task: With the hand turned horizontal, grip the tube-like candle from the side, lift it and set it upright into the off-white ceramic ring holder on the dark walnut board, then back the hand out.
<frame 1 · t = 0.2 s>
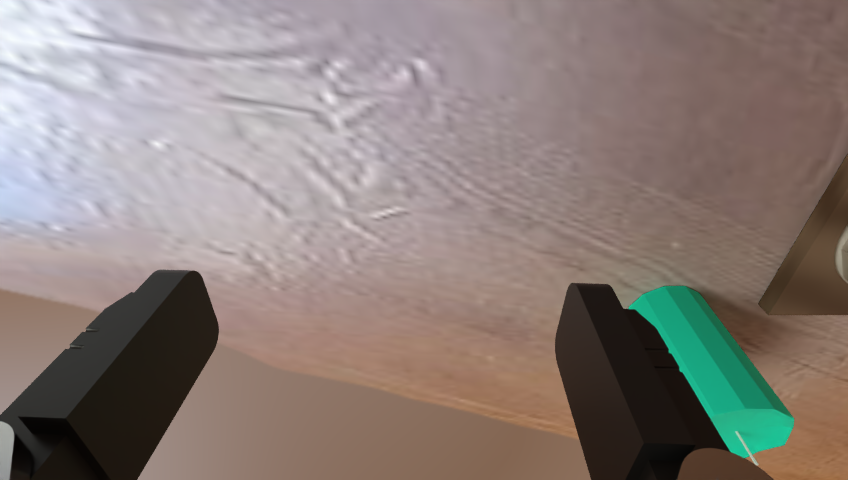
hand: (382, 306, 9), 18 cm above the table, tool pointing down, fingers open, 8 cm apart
candle: (662, 311, 34), on the table
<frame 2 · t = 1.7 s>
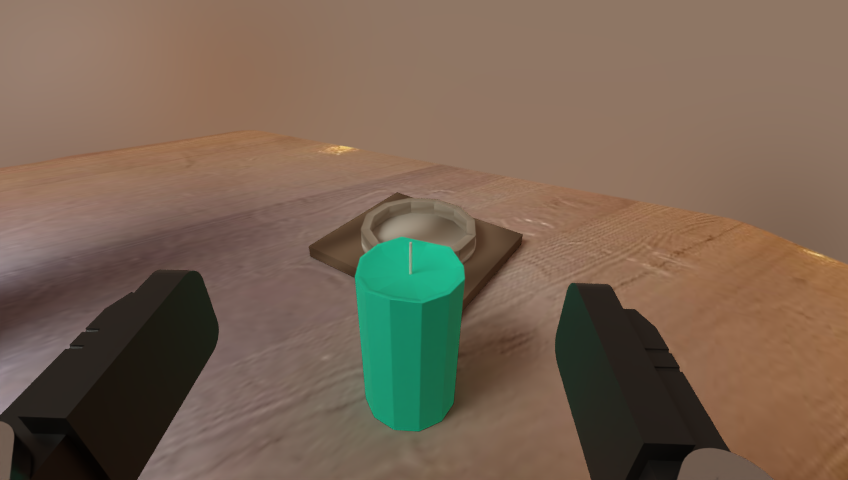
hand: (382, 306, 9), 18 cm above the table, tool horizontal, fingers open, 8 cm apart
holder: (418, 250, 42), on the table
candle: (410, 392, 29), on the table
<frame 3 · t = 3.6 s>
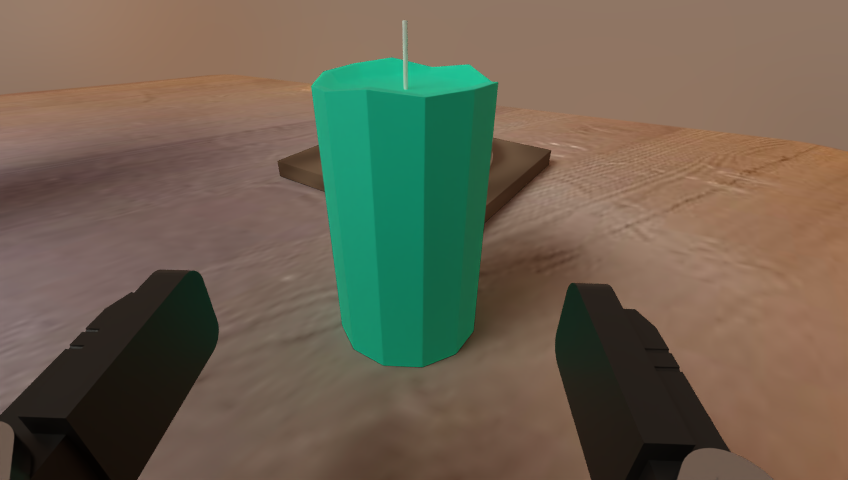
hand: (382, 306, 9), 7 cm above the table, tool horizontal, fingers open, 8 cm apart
holder: (419, 169, 33), on the table
candle: (408, 319, 19), on the table
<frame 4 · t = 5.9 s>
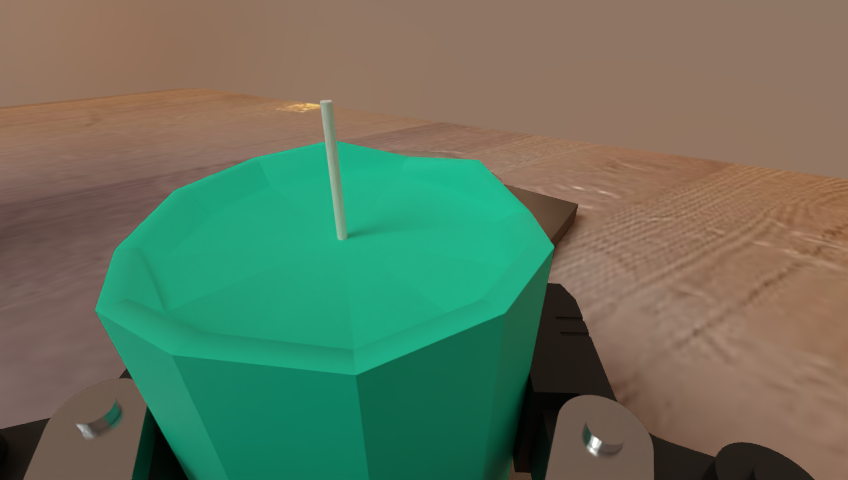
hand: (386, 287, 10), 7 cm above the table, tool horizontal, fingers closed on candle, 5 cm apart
holder: (408, 230, 26), on the table
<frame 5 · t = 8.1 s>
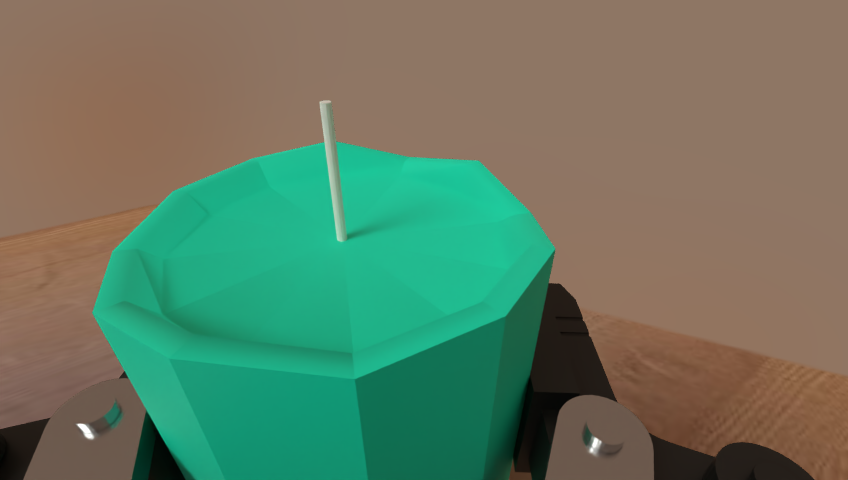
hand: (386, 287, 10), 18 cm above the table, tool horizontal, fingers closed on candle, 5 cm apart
when the fingers open (9 cm above the table, at t = 10.5 s): candle stays where it is, resting on holder.
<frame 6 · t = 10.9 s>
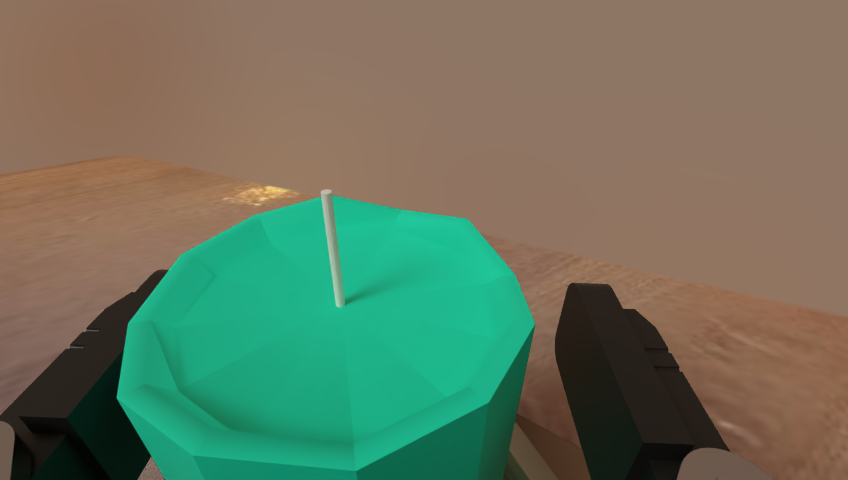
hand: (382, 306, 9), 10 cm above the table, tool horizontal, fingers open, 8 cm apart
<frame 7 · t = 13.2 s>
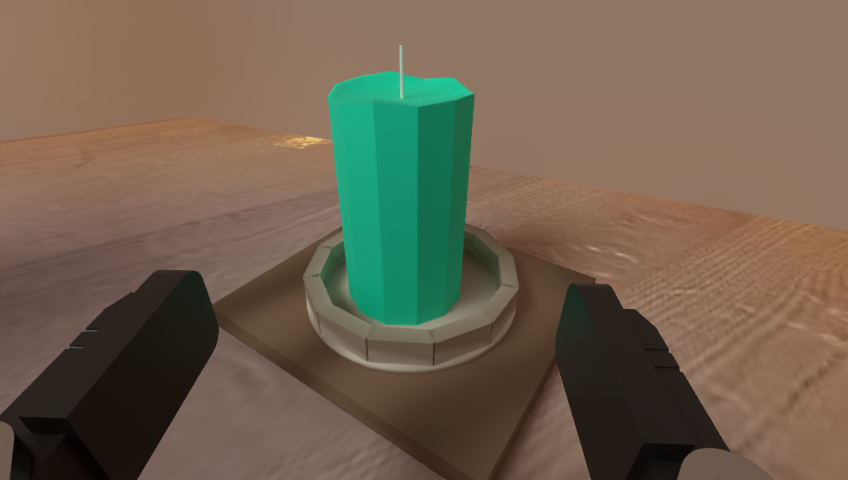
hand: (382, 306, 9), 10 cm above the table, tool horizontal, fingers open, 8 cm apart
holder: (412, 308, 24), on the table
candle: (405, 289, 23), point 1 cm above the table, touching holder
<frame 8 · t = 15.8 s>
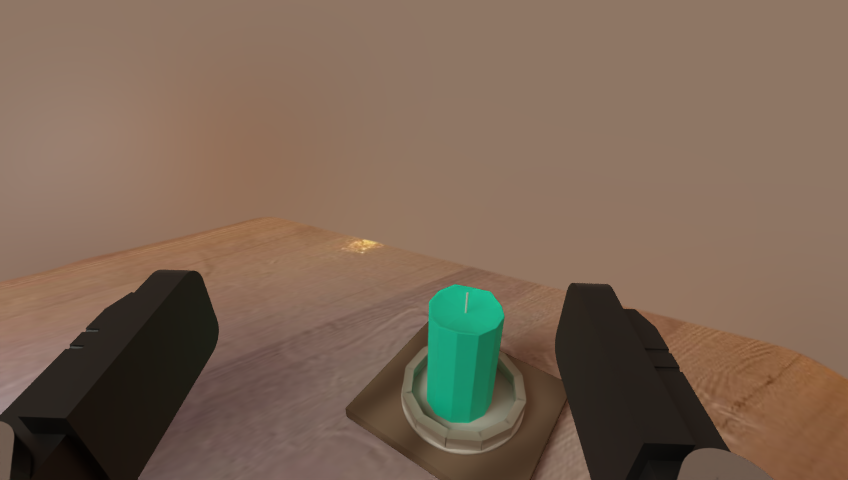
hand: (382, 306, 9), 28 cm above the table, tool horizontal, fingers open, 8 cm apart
holder: (461, 404, 40), on the table
candle: (458, 395, 39), point 1 cm above the table, touching holder
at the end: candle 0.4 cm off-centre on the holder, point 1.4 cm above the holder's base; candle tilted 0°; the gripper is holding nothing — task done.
